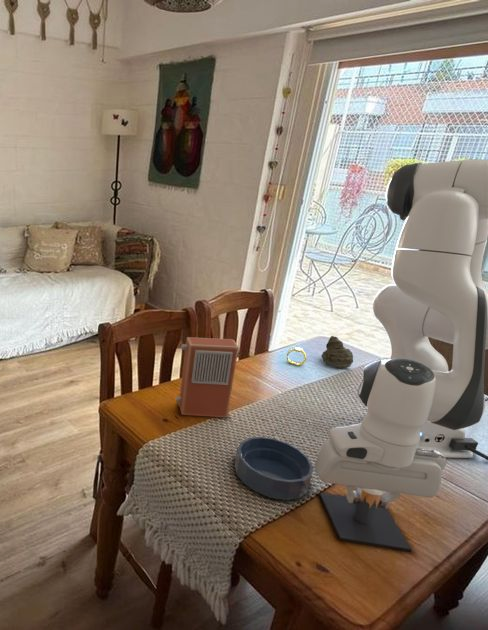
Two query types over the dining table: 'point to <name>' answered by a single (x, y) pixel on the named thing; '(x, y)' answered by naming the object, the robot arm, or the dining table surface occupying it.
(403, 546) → the mat
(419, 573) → the dining table surface
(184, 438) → the dining table surface
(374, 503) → the milkshake
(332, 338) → the brown poop pile
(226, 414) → the pink box with grille
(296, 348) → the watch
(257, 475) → the dish
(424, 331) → the robot arm
